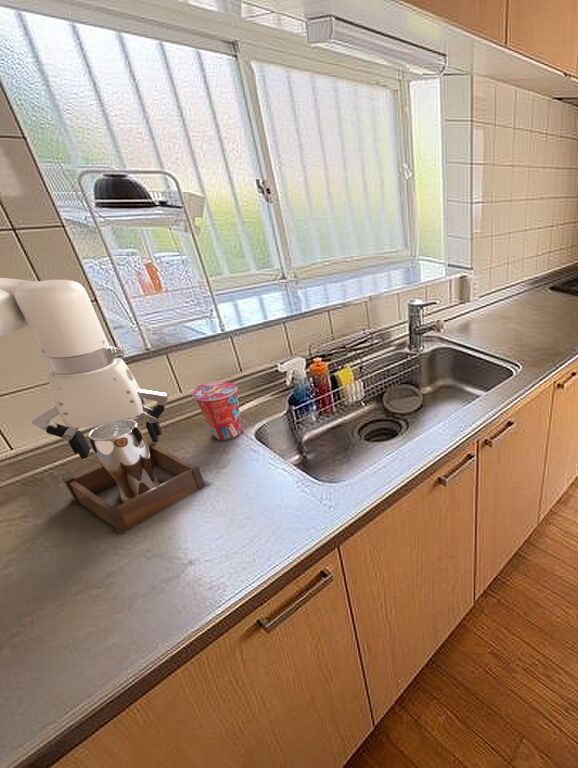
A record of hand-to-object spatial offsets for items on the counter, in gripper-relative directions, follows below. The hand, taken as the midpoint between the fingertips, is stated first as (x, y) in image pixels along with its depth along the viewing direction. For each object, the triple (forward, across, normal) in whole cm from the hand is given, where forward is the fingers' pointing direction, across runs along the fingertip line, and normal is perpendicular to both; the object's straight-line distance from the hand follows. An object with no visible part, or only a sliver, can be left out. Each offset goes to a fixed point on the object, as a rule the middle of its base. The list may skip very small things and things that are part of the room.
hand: (122, 446), depth 75 cm
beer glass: (+12, 0, 0) cm, 12 cm away
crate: (+11, 0, 0) cm, 11 cm away
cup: (+12, -14, -15) cm, 24 cm away
